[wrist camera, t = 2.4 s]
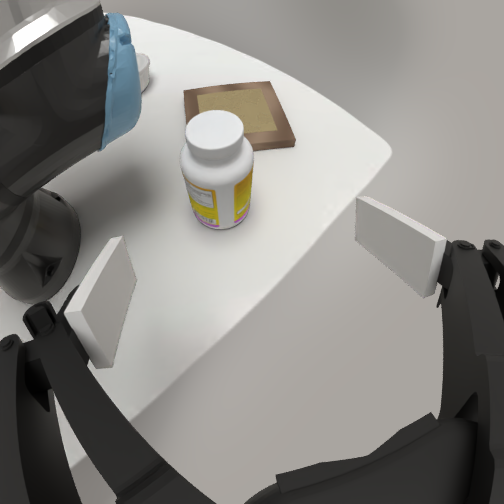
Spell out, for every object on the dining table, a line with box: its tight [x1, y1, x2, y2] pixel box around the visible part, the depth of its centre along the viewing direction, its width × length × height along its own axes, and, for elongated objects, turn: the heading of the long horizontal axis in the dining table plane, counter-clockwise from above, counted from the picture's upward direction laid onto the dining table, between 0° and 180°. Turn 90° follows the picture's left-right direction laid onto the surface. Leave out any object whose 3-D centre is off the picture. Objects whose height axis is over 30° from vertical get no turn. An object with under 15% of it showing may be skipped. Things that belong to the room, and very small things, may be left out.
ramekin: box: [136, 53, 150, 93], centre depth 37 cm, size 11×11×5 cm
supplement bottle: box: [180, 110, 254, 229], centre depth 26 cm, size 7×7×13 cm
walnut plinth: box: [184, 81, 296, 151], centre depth 37 cm, size 14×14×2 cm
